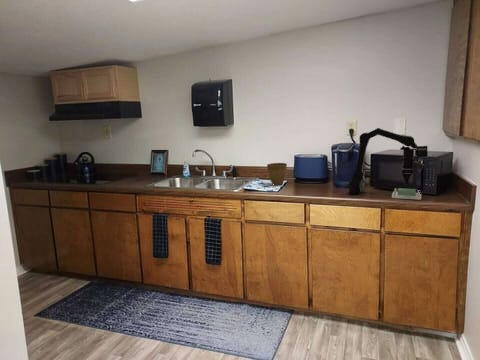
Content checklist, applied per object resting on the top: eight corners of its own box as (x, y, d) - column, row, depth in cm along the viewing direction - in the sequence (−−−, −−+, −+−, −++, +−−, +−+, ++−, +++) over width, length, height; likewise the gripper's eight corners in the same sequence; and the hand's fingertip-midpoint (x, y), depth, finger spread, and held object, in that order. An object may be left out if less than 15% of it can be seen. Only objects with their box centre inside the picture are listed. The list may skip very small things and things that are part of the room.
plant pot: (289, 183, 274) (289, 162, 271) (283, 187, 261) (283, 165, 258) (271, 182, 281) (270, 162, 278) (264, 186, 267) (264, 165, 264)
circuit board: (397, 195, 218) (397, 190, 217) (397, 192, 223) (398, 188, 223) (415, 196, 214) (415, 191, 213) (415, 193, 219) (415, 189, 218)
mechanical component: (367, 193, 231) (367, 178, 229) (354, 190, 239) (354, 176, 237) (370, 192, 233) (370, 177, 231) (356, 190, 241) (357, 175, 239)
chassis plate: (391, 197, 217) (392, 192, 216) (393, 193, 227) (393, 187, 227) (421, 199, 210) (421, 193, 209) (421, 194, 220) (421, 189, 220)
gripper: (423, 159, 202) (422, 186, 205) (423, 155, 218) (422, 179, 221) (402, 159, 207) (401, 185, 210) (403, 155, 223) (402, 179, 226)
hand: (407, 182), depth 217 cm, fingers open, 9 cm apart
